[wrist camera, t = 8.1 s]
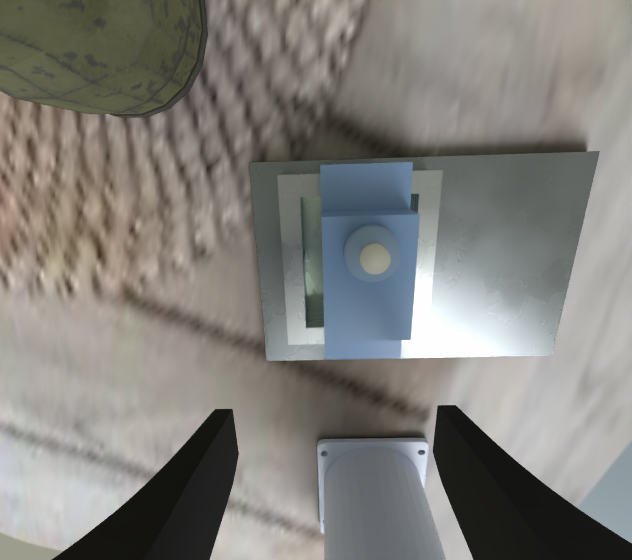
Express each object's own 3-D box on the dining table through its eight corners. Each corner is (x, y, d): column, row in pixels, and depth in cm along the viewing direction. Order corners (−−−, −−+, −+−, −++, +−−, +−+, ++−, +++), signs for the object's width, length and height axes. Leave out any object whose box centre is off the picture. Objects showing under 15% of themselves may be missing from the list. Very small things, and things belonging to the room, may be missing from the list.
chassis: (543, 348, 22) (580, 379, 19) (268, 354, 22) (260, 385, 19) (587, 151, 18) (644, 149, 15) (251, 162, 18) (237, 162, 15)
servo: (383, 316, 20) (417, 398, 13) (323, 318, 20) (326, 399, 13) (389, 162, 17) (437, 161, 10) (320, 164, 17) (320, 165, 10)
